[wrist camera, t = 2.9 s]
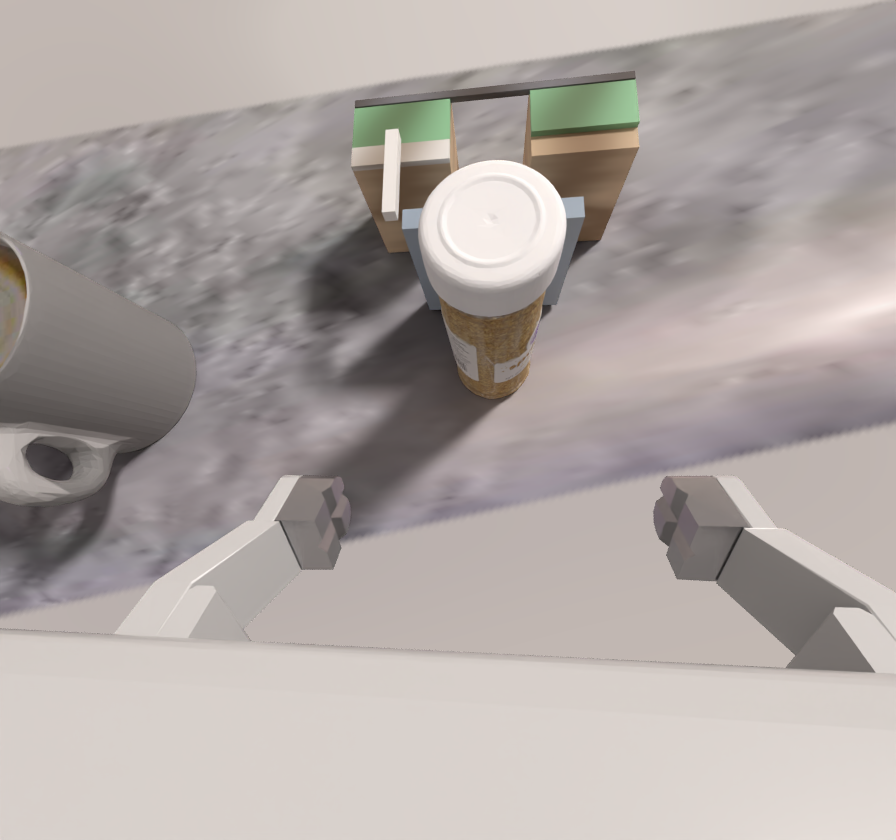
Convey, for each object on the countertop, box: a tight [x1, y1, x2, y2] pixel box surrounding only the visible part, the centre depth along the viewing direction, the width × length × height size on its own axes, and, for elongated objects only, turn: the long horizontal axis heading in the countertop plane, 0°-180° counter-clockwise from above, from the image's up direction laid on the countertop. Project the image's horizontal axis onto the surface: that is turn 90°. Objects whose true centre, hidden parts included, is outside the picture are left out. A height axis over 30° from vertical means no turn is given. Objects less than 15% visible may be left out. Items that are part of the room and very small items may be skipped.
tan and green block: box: [351, 71, 640, 253], centre depth 23 cm, size 14×4×7 cm, turn 90°
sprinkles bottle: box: [418, 160, 566, 399], centre depth 18 cm, size 5×5×13 cm
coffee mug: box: [0, 232, 196, 507], centre depth 22 cm, size 13×10×10 cm
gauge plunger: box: [382, 129, 585, 310], centre depth 22 cm, size 9×5×9 cm, turn 90°
